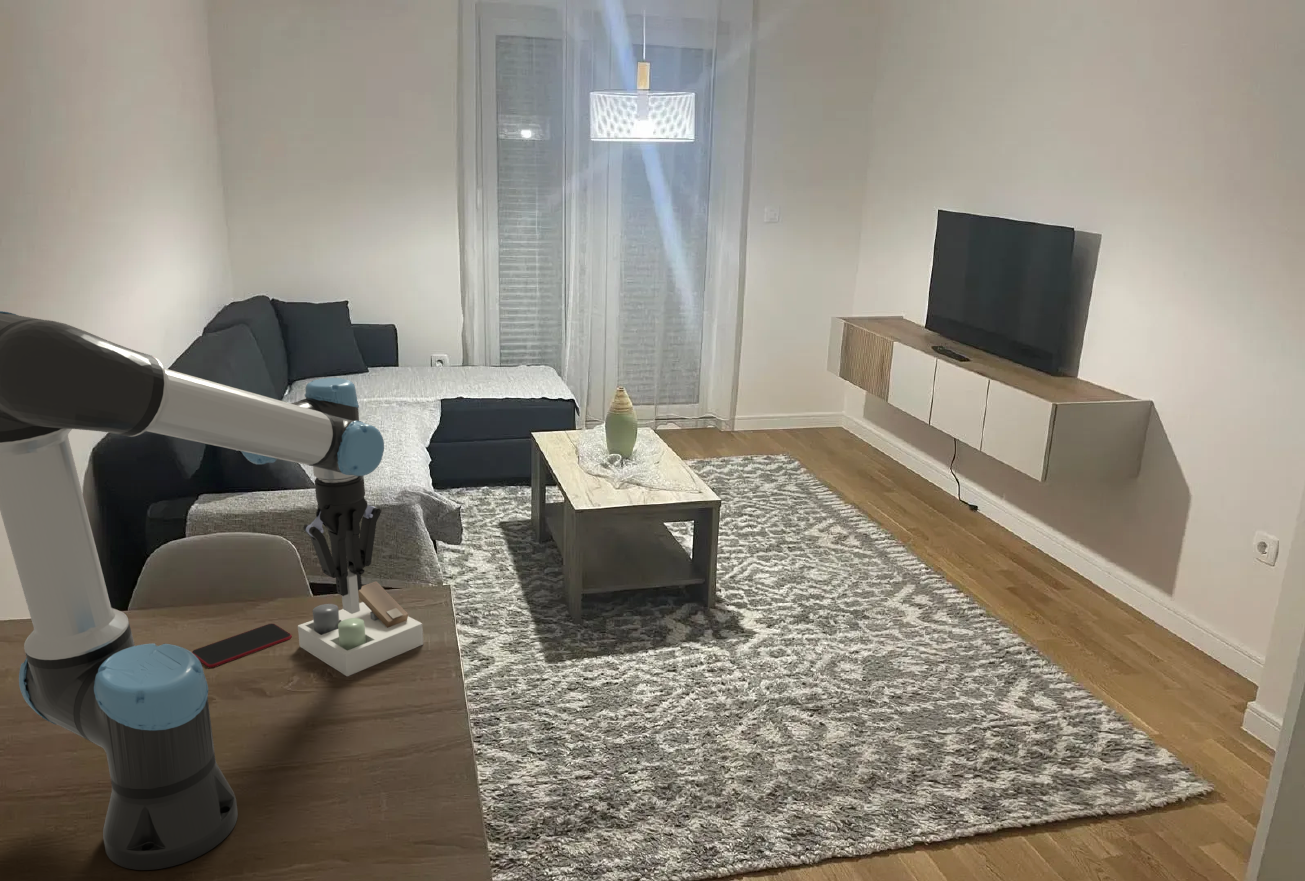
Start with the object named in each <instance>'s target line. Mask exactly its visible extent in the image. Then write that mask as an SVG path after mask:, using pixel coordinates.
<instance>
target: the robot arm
mask: <svg viewBox="0 0 1305 881" xmlns="http://www.w3.org/2000/svg"><path fill="white" fill-rule="evenodd" d="M304 390H305V393H304V397H305V398H303V399H300V400H298V401H294V402H290V403H289V402H288V401H287V402H286V401H283V400H280V399H276V398H272V397H269V396H265V395H263V394H262V395H261V394H258V393H254V392H251V391H249V390H248V391H247V390H245V389H244V390H243V389H239V388H236V387H232V386H229V385H227V384H226V385H225V384H223V383H217V382H216V381H211V380H207V379H204V378H200V377H197V376H193V375H190V374H186V373H184V372H183V373H182V372H178V371H176V370H173V369H172V370H171V369H168V368H166V367H165V368H164V365H163V364H162V362H161V361H160V360H159V359H158V358H157V357H155V356H153V355H151V354H147V353H144V352H140V351H137V350H134V349H131V348H130V347H129V348H128V347H126V346H123V345H120V344H118V343H115V342H112V341H110V340H107V339H105V338H103V337H100V336H98V335H95V334H93V333H91V332H88V331H85V330H83V329H80V328H78V327H76V326H72V325H70V324H67V323H63V322H61V321H60V322H59V321H55V320H51V319H41V318H35V317H34V318H33V317H29V316H22V315H18V314H16V313H12V312H8V311H2V310H0V515H1V518H2V521H3V525H4V529H5V532H6V536H7V539H8V544H9V546H10V550H11V554H12V556H13V560H14V564H15V568H16V570H17V574H18V577H19V581H20V584H21V585H20V586H21V588H22V591H23V595H24V598H25V602H26V605H27V609H28V612H29V617H30V620H31V622H32V627H33V630H32V631H31V633H30V634H29V635H28V636H27V638H26V639H25V641H24V644H23V645H24V646H23V648H24V653H25V656H26V658H25V659H24V661H23V662H22V663H21V664H20V668H19V672H18V673H19V674H18V684H19V690H20V693H21V695H22V698H23V700H24V701H25V703H26V704H27V705H28V706H29V707H30V708H31V709H32V710H33V711H34V712H35V713H36V714H37V715H39V716H40V717H41V718H42V719H45V720H46V721H47V722H50V723H51V724H53V725H55V726H56V725H57V726H60V727H61V728H64V729H65V730H66V731H69V732H71V733H73V734H75V735H77V736H79V737H81V738H83V739H85V740H87V741H89V742H90V743H93V744H95V745H96V746H99V747H100V748H102V749H103V750H104V752H105V754H106V758H107V766H108V772H109V777H110V782H111V784H110V785H111V794H110V798H109V803H108V805H107V812H106V815H105V820H104V825H103V828H102V836H103V845H104V850H105V854H106V856H107V857H108V859H109V860H110V861H111V862H112V863H114V864H116V865H117V866H120V867H122V868H125V869H129V870H137V871H150V870H160V869H162V870H163V869H165V868H171V867H175V866H178V865H179V866H180V865H182V864H185V863H187V862H189V861H193V860H194V859H196V858H198V857H201V856H202V855H204V854H207V853H208V852H209V851H211V850H213V849H214V848H215V847H217V846H218V845H219V844H221V843H222V842H223V841H224V840H225V839H226V838H227V837H228V836H229V835H230V834H231V833H232V831H233V830H234V828H235V826H236V824H237V820H238V817H239V816H238V815H239V814H238V806H237V805H238V804H237V799H236V795H235V792H234V791H233V788H232V787H231V785H230V783H229V782H228V780H227V779H226V777H225V775H224V774H223V772H222V770H221V769H220V767H219V764H218V763H217V761H216V760H217V759H216V754H215V745H214V737H213V729H212V728H213V727H212V722H211V721H212V720H211V713H210V706H209V697H208V694H209V686H208V681H207V679H206V676H205V672H204V668H203V664H202V662H201V661H199V659H198V658H197V657H196V656H195V655H194V654H193V653H192V651H190V650H188V649H187V648H185V647H182V646H180V645H175V644H170V643H163V644H161V645H157V644H156V643H155V642H154V643H145V644H144V643H143V644H138V645H135V641H134V636H133V632H132V628H131V626H130V625H131V624H130V622H129V621H130V620H129V618H128V616H127V615H126V613H124V612H123V611H121V610H118V609H116V608H113V607H112V604H111V602H110V598H109V594H108V589H107V586H106V582H105V578H104V574H103V569H102V566H101V561H100V558H99V554H98V550H97V547H96V546H97V545H96V542H95V538H94V533H93V530H92V526H91V523H90V518H89V513H88V511H87V510H88V509H87V507H86V503H85V498H84V495H83V490H82V487H81V483H80V482H81V481H80V478H79V475H78V474H79V473H78V470H77V467H76V463H75V462H76V461H75V460H74V459H75V458H74V455H73V450H72V447H71V444H70V439H69V433H70V432H72V430H80V431H89V432H90V431H92V432H101V433H109V434H114V435H118V436H125V437H131V438H132V437H136V436H140V435H142V434H143V433H145V432H149V433H154V434H158V435H164V436H168V437H174V438H178V439H183V440H186V441H191V442H198V443H202V444H206V445H211V446H215V447H220V448H225V449H230V450H234V451H238V452H239V451H240V452H241V453H242V455H243V456H244V457H245V459H246V460H247V461H249V462H250V463H252V464H254V465H265V464H268V463H269V464H274V463H275V462H276V461H278V460H281V461H282V460H283V461H286V462H292V463H295V464H296V463H297V464H301V465H306V466H309V467H312V471H313V476H314V477H316V478H315V479H314V490H315V498H316V503H317V510H316V513H315V519H313V520H312V522H310V524H309V523H306V524H304V525H303V529H302V530H303V531H304V532H305V533H306V534H307V535H308V536H309V537H310V540H311V542H312V546H313V548H314V551H315V553H316V556H317V559H318V562H319V564H320V567H321V569H322V572H323V574H324V575H325V576H328V577H329V578H331V579H335V584H336V586H335V587H336V592H337V594H338V595H340V596H341V602H342V609H344V610H346V611H348V612H349V613H351V614H353V613H356V612H358V611H360V607H359V603H360V598H359V596H358V590H361V588H362V586H363V583H362V575H363V574H364V573H365V569H364V568H366V567H369V566H371V564H372V558H373V552H374V544H375V537H376V536H375V535H376V529H377V528H376V527H377V523H378V520H379V518H380V515H381V513H382V510H381V508H378V507H376V506H374V505H371V504H368V501H367V500H366V498H365V495H366V486H365V478H364V477H365V476H366V475H370V474H372V473H373V472H374V471H375V470H376V469H377V468H378V467H379V465H381V462H382V459H383V456H384V451H385V442H384V437H383V435H382V433H381V431H380V430H379V429H378V428H377V427H375V426H374V425H372V424H368V423H366V422H363V421H360V414H359V411H360V410H359V407H360V406H359V402H358V396H357V390H356V385H355V383H353V381H351V380H349V379H347V378H343V377H327V378H325V377H324V378H318V379H313V380H312V381H310V382H308V383H307V384H306V385H305V389H304ZM323 526H324V527H325V528H326V529H327V534H328V536H329V539H330V547H329V545H328V542H327V539H326V537H325V535H324V534H323V533H324V532H325V531H324V528H323ZM330 550H331V551H330Z"/></svg>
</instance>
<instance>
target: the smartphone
mask: <svg viewBox="0 0 1305 881" xmlns="http://www.w3.org/2000/svg"><path fill="white" fill-rule="evenodd" d="M292 635H293V634H292V633H290V632H288V631H286V630H285V629H283V628H282V627H280V626H279V625H277V624H275V623H268V624H265V625H261V626H259V627H256V628H253V629H250V630H248V631H244V632H242V633H238V634H236V635H233V636H230V637H226V638H224V639H221V640H219V641H216V642H212V643H210V644H207V645H204V646H201V647H198V648H195V649H193V650H192V651H191V652H192V653H193V654H194V655H195V656H196V657H197V658H198V659H199V661H200V662H201V664H202V665H203V664H204V665H205V666H206V667H207V668H215V667H218V666H220V665H223V664H225V663H226V664H227V663H229V662H232V661H235V660H236V659H239V658H242V657H245V656H247V655H250V654H254V653H256V652H258V651H262V650H264V649H267V648H269V647H273V646H275V645H277V644H280V643H283V642H285V641H288V640H290V639H292V637H293V636H292Z"/></svg>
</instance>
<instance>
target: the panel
mask: <svg viewBox="0 0 1305 881" xmlns="http://www.w3.org/2000/svg"><path fill="white" fill-rule="evenodd" d="M359 607H360V611H358V612H356V613H353V614H351V613H349V612H348V611H346V610H344V609H343V608H342V609H338V610H339V622H341V621H343V620H345V619H349V618H359V619H362V620H363V621H364V626H365V638H366V643H365V644H363V645H360V646H358V647H355V648H353V649H350V650H348V651H347V650H345V649H344V648H342V647H340V644H339V632H338V629H336V630H333V631H331V632H328V633H325V634H323V635H320V634H319V633H317V632H315V631H314V621H313V619H312V620H309V621H307V622H303V623H300V624H298V625H297V631H298V632H297V633H298V644H299V647H300V648H301V649H303V650H304V651H306V652H307V653H310V654H311V655H312V656H314V657H315V658H316V659H319V660H321V661H322V662H324V663H325V664H327V665H328V666H330V667H331V668H333V669H335V670H336V671H338V672H340V673H341V674H342V675H344V676H346V677H349V676H352V675H355V674H356V673H359V672H361V671H363V670H366V669H369V668H371V667H373V666H375V665H378V664H380V663H383V662H384V661H385V662H386V661H387V660H389V659H392V658H394V657H397V656H399V655H402V654H404V653H407V652H408V651H411V650H413V649H416V648H418V647H421V646H423V645H424V630H423V623H422V622H421V621H419V620H417V619H414V618H413V617H410V616H409V615H408V618H407V620H406V621H404V622H401V623H399V624H396V625H393V626H391V627H388V628H387V627H386V626H385V625H384V624H383V623H382V622H381V621H380V619H379V618H378V617H377V616H376V615H375V614H374V613H373V612H372V611H371V610H370V609H369V608H368V607H367V606H366V605H365V603H364V602H363V601H361V602H359Z"/></svg>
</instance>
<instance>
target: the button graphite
mask: <svg viewBox="0 0 1305 881" xmlns="http://www.w3.org/2000/svg"><path fill="white" fill-rule="evenodd" d="M339 610H340V609H339V606H338V605H337V604H334V603H324V604H323V603H322V604H320V605H317V606H315V607H314V608H313V609H312V618H313V619H312V620H313V621H314V631H315V632H317V633H319V634H320V635H323V634H325V633H328V632H331V631H333V630H336V629H338V624H339V623H340V622H339Z"/></svg>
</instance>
